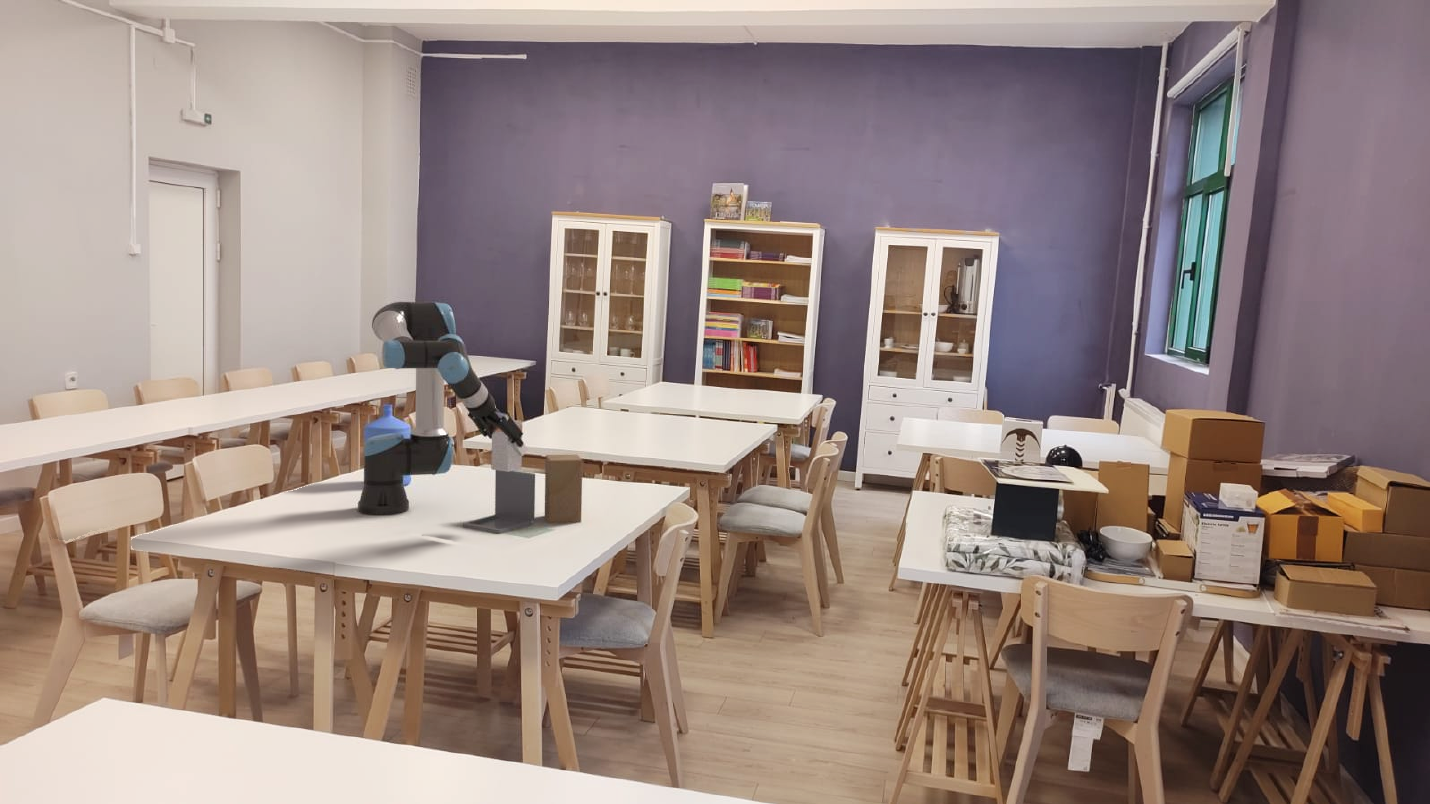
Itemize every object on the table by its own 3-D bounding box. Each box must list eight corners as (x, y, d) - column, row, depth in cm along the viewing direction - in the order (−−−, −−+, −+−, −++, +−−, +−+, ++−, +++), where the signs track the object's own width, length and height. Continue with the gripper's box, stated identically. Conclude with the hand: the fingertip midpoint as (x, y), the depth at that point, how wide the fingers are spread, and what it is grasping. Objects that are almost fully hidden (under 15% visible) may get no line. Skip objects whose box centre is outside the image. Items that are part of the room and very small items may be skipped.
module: (491, 469, 284) (491, 421, 283) (505, 466, 290) (506, 419, 288) (507, 471, 281) (508, 422, 280) (521, 469, 287) (522, 420, 285)
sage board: (506, 537, 281) (506, 533, 280) (533, 529, 291) (533, 525, 291) (528, 541, 277) (528, 537, 277) (555, 533, 287) (555, 529, 287)
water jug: (364, 480, 353) (364, 402, 350) (410, 479, 358) (410, 402, 354) (363, 489, 338) (362, 407, 335) (411, 487, 343) (411, 407, 340)
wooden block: (547, 526, 295) (548, 460, 293) (544, 518, 304) (545, 454, 302) (581, 525, 297) (582, 459, 295) (576, 518, 307) (578, 454, 305)
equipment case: (462, 529, 287) (462, 475, 285) (497, 520, 300) (498, 468, 299) (500, 537, 280) (500, 481, 279) (534, 526, 294) (535, 473, 292)
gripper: (443, 406, 275) (483, 457, 291) (496, 412, 266) (534, 464, 282) (457, 386, 279) (496, 438, 295) (510, 391, 270) (547, 444, 286)
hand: (515, 451), depth 288 cm, fingers closed on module, 6 cm apart
